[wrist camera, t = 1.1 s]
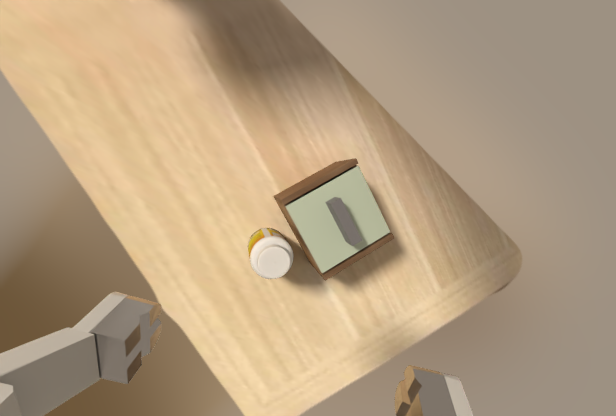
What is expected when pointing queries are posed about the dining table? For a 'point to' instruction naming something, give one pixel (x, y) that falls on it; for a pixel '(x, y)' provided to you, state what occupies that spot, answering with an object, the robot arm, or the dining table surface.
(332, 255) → the lid
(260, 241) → the supplement bottle
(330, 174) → the walnut box
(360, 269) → the dining table surface
